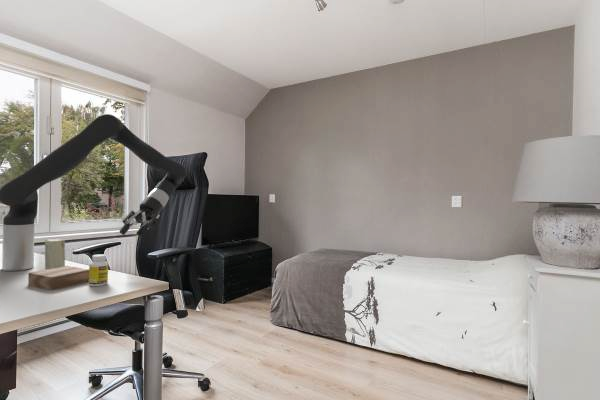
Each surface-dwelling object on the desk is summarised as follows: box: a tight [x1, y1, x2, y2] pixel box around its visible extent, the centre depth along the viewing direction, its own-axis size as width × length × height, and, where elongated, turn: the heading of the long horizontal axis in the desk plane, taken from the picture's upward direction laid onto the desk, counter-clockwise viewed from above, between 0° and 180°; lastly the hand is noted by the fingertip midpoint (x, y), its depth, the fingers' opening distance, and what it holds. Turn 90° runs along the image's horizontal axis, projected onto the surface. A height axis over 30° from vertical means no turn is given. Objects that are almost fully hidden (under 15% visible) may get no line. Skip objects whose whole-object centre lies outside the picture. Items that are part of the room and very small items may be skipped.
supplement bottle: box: [88, 253, 109, 287], centre depth 111 cm, size 5×5×10 cm
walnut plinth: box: [27, 265, 89, 291], centre depth 111 cm, size 12×12×4 cm
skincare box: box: [44, 238, 66, 270], centre depth 124 cm, size 6×4×12 cm
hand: (129, 234), depth 121 cm, fingers open, 8 cm apart
